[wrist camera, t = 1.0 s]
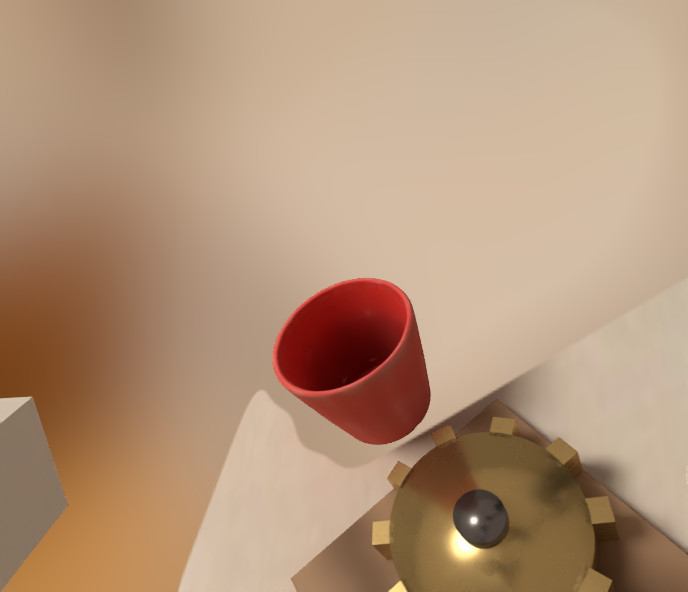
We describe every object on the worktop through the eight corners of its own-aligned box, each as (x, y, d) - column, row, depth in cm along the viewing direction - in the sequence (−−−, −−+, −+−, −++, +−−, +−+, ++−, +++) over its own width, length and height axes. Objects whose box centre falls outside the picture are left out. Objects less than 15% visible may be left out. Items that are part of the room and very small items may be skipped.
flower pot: (459, 450, 38) (416, 372, 32) (323, 474, 41) (261, 408, 35) (444, 340, 46) (408, 260, 40) (331, 368, 49) (280, 299, 43)
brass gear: (497, 401, 38) (486, 374, 36) (678, 549, 28) (677, 522, 26) (350, 530, 36) (329, 508, 34) (485, 741, 26) (467, 730, 24)
